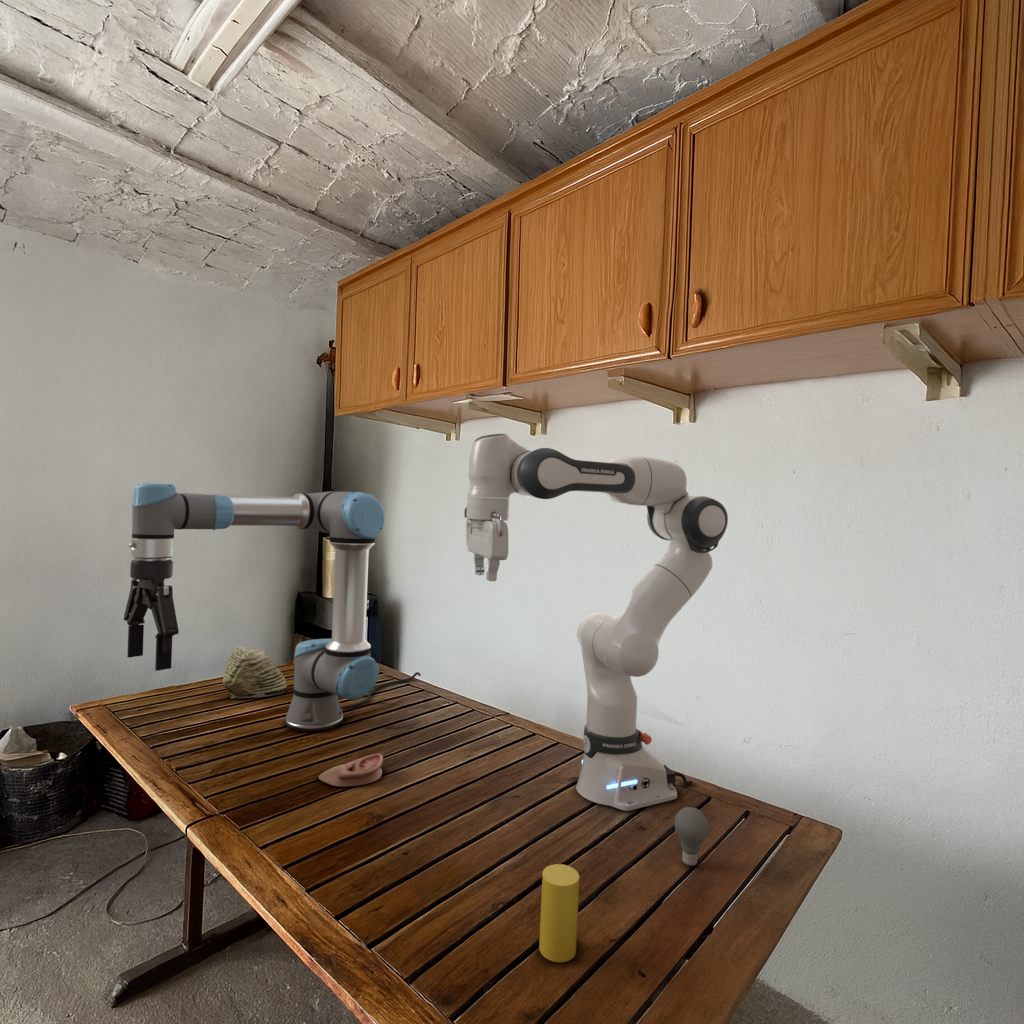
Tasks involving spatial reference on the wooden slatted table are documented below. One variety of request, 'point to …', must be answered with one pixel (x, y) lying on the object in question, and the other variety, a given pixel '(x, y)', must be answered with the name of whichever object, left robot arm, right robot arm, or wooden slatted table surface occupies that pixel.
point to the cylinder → (559, 913)
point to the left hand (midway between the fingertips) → (148, 662)
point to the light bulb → (691, 832)
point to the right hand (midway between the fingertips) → (485, 577)
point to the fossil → (252, 674)
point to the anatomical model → (354, 772)
